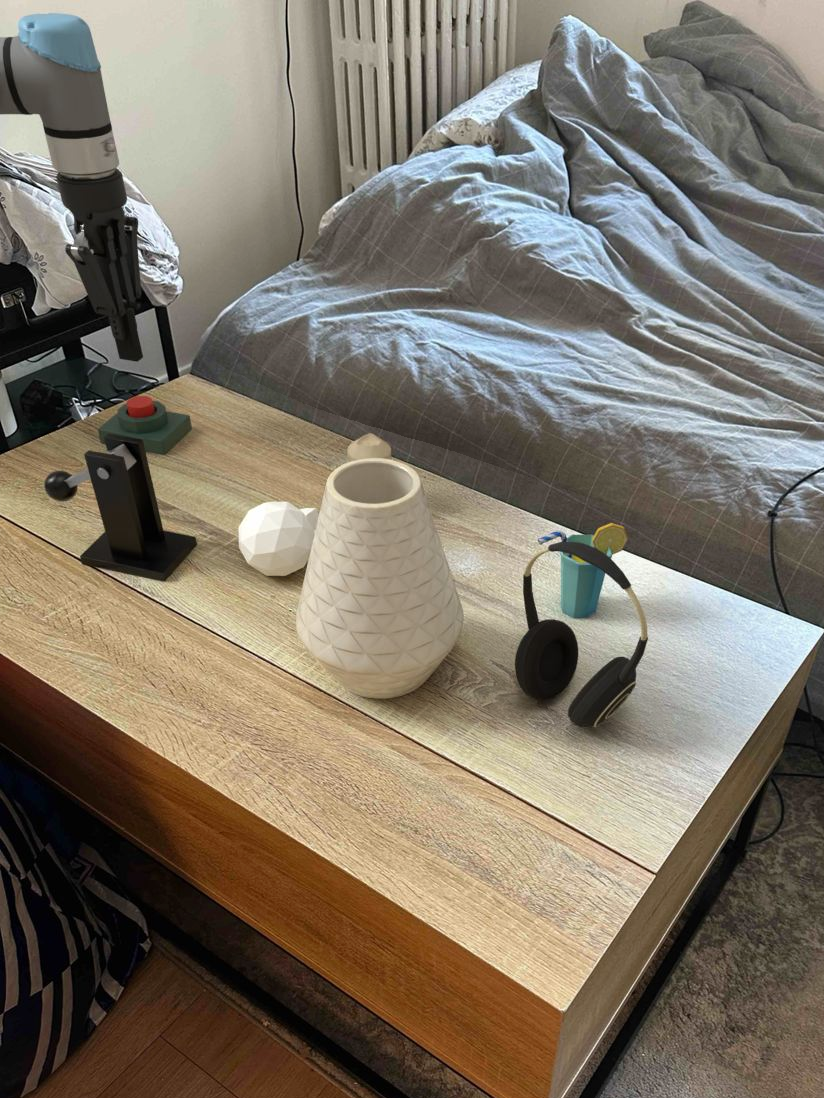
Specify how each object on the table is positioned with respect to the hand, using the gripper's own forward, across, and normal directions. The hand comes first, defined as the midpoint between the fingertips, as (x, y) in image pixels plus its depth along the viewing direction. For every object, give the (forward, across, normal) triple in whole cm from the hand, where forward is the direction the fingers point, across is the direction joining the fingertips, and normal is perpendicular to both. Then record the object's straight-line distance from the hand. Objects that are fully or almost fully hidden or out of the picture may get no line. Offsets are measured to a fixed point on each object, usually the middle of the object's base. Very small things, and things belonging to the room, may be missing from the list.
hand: (131, 357), depth 131 cm
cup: (+13, -20, -67) cm, 71 cm away
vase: (+12, -36, -49) cm, 62 cm away
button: (+8, 0, 0) cm, 8 cm away
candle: (+12, -7, -37) cm, 39 cm away
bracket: (+12, -26, -14) cm, 32 cm away
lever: (+3, -26, -10) cm, 28 cm away
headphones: (+12, -36, -70) cm, 79 cm away
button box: (+12, 0, 0) cm, 12 cm away
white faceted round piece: (+12, -22, -32) cm, 41 cm away
